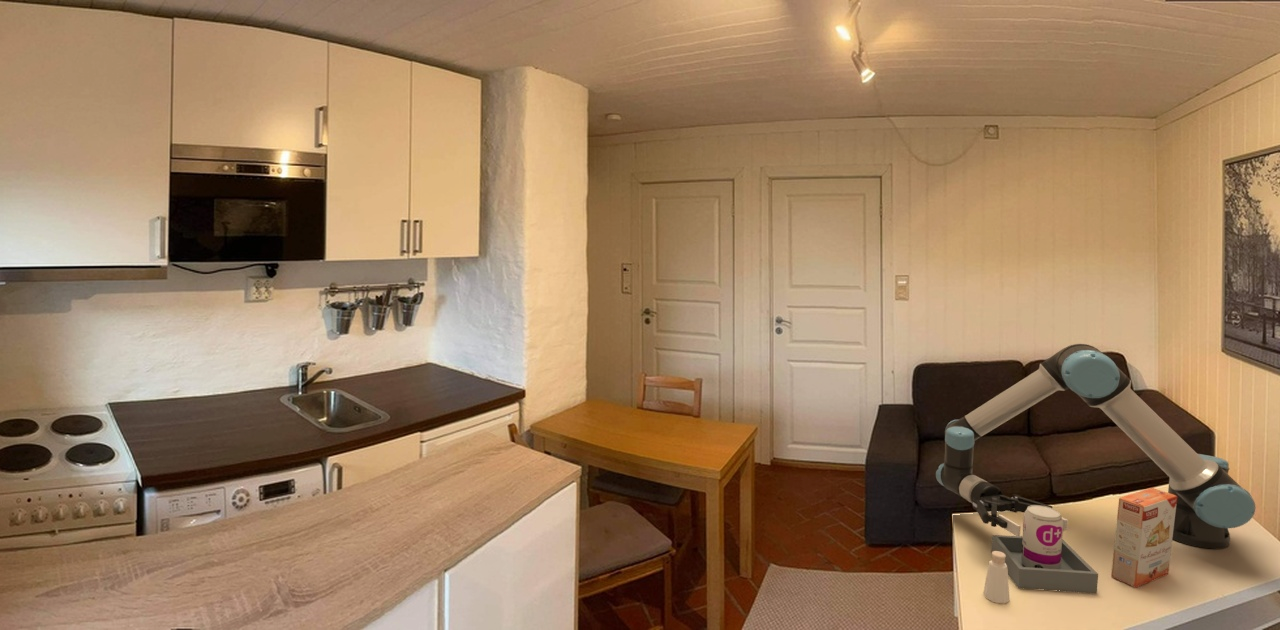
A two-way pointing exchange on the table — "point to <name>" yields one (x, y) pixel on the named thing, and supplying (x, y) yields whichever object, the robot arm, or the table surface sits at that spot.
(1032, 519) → the supplement can
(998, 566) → the pepper shaker
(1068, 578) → the grey square tray
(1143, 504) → the cracker box
